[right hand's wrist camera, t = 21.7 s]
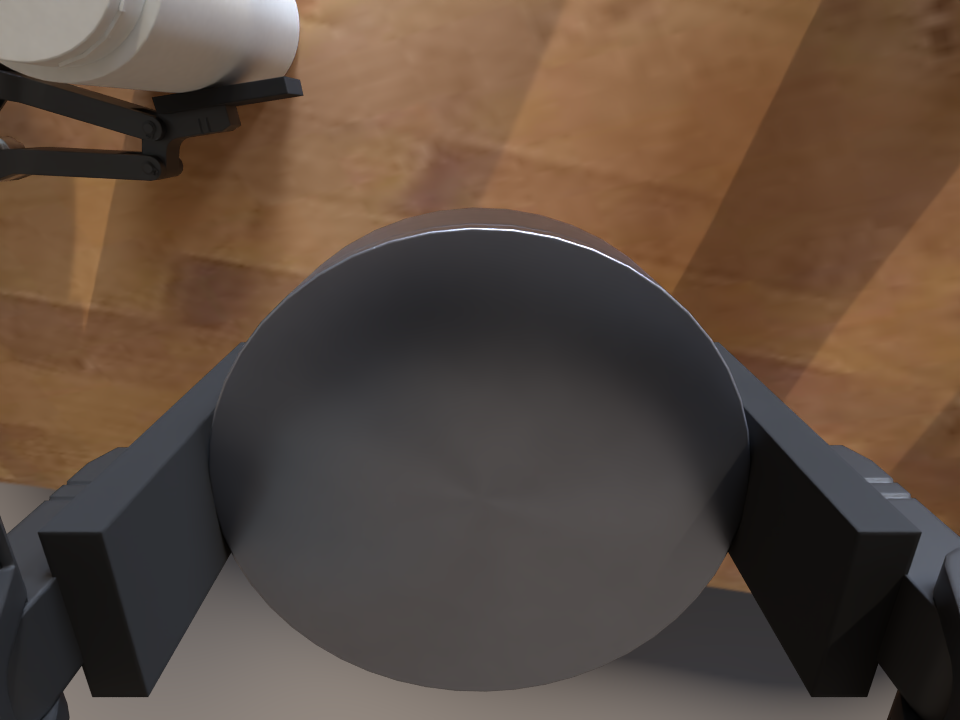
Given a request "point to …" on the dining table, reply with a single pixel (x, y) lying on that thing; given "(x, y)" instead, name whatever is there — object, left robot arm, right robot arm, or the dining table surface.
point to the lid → (479, 453)
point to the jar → (149, 41)
